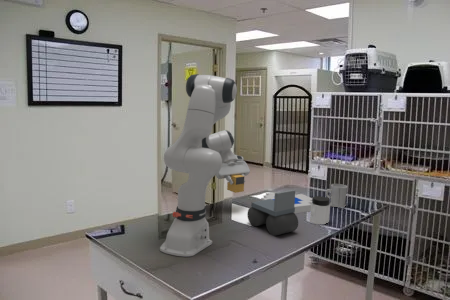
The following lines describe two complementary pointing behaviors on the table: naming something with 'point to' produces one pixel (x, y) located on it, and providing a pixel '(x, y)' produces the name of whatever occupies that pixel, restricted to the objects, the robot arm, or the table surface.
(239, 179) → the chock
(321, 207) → the jar
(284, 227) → the trolley
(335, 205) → the cup
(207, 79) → the robot arm
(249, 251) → the table surface
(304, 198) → the stepped white slab
